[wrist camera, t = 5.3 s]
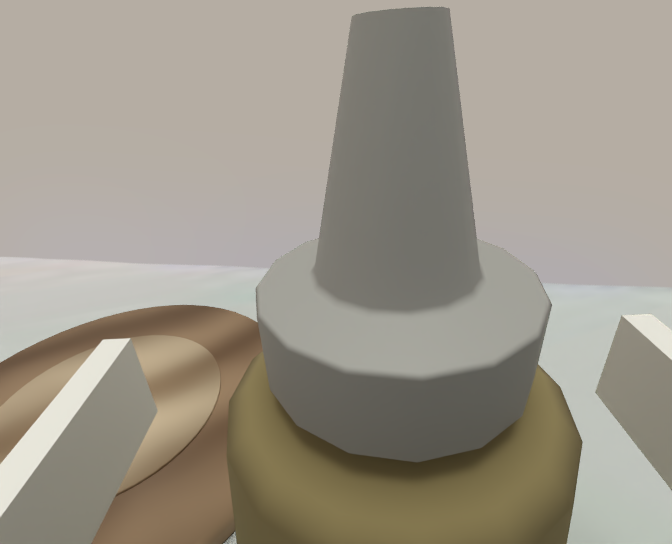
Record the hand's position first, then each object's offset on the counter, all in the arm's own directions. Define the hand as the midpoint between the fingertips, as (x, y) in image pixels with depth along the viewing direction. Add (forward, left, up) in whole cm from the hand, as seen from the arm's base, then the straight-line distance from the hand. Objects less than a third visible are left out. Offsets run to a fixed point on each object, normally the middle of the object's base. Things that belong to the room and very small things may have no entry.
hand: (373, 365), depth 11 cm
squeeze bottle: (-2, +2, -10) cm, 11 cm away
